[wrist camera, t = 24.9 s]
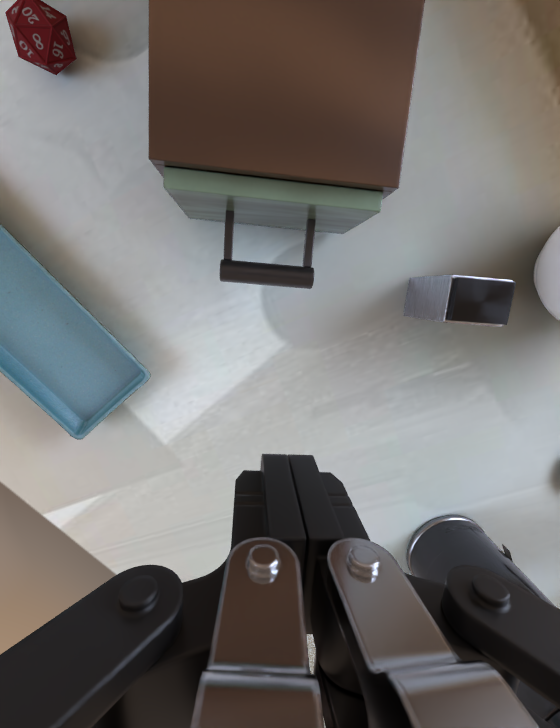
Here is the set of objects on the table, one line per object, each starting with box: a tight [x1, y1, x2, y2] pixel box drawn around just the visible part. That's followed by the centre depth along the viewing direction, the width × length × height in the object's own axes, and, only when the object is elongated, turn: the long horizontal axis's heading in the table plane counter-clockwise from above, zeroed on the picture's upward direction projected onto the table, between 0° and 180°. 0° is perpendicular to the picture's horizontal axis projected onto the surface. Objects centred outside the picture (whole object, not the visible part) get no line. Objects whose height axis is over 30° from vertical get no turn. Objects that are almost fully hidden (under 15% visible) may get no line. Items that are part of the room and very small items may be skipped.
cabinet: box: [149, 0, 425, 199], centre depth 23 cm, size 20×15×11 cm
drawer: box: [164, 167, 383, 289], centre depth 24 cm, size 24×13×9 cm, turn 175°
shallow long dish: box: [0, 224, 150, 439], centre depth 28 cm, size 26×9×2 cm, turn 41°
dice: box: [5, 0, 76, 75], centre depth 24 cm, size 4×4×4 cm
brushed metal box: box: [404, 274, 516, 327], centre depth 29 cm, size 4×5×8 cm
